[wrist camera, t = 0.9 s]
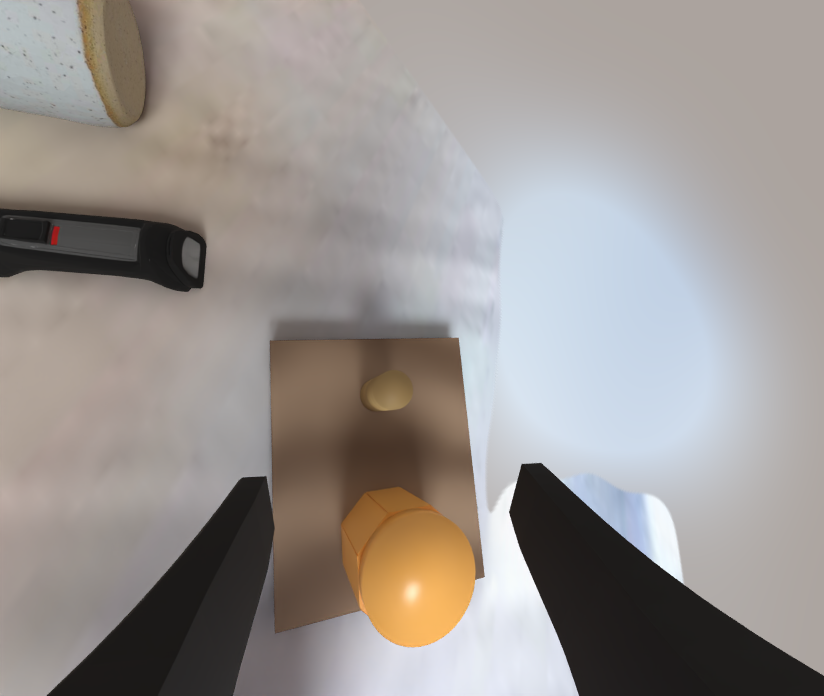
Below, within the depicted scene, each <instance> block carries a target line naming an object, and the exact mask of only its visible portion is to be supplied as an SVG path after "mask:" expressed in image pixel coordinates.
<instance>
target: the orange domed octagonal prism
mask: <svg viewBox="0 0 824 696" xmlns="http://www.w3.org/2000/svg"><path fill="white" fill-rule="evenodd" d="M341 524H342V525H341V539H342V560H343V566H344V568H345V571H346V574H347V576H348V579H349V581H350V584H351V587H352V589H353V592H354V594H355V597H356V600H357V602H358V605H359V607H360V610H362V611H363V612H364V613H365V614H367V615H368V616H369V618H370V620H371V622H372V624H373V626H374V627H375V628H376V629H377V631H378V632H379V633H380V634H381V635H382V636H383V637H385V638H386V639H388V640H389V641H391V642H393V643H395V644H397V645H401V646H405V647H421V646H425V645H428V644H431V643H433V642H436V641H437V640H439V639H441V638H442V637H444V636H445V635H446V634H448V633H449V632H450V631H451V630H452V629H453V628H454V627H455V626H456V625H457V623H458V622H459V621H460V620H461V618H462V616H463V615H464V613H465V611H466V609H467V607H468V605H469V603H470V600H471V597H472V594H473V590H474V584H475V573H476V572H475V560H474V555H473V551H472V548H471V546H470V543H469V541H468V539H467V538H466V536H465V534H464V533H463V532H462V530H461V529H460V528H459V527H458V526H457V525H456V524H455V523H453V522H452V521H451V520H449V519H447V518H446V517H444V516H443V515H442V514H441V513H439V512H438V511H437V510H436V509H435V508H434V507H433V506H431V505H430V504H428V503H426V502H425V501H423V500H421V499H420V498H418V497H416V496H414V495H413V494H411V493H409V492H408V491H406V490H404V489H402V488H401V487H394V488H388V489H382V490H375V491H369V492H366V493H364V494H363V496H362V497H361V498H360V500H359V501H358V502H357V503H356V505H355V506H354V507H353V509H352V510H351V511H350V513H349V514H348V515H347V517H346V518H345V519H344V520H343V522H342V523H341Z"/></svg>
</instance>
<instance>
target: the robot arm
mask: <svg viewBox="0 0 824 696" xmlns="http://www.w3.org/2000/svg"><path fill="white" fill-rule="evenodd" d="M509 513H510V517H511V520H512V524H513V527H514V531H515V534H516V537H517V540H518V543H519V547H520V549H521V552H522V554H523V557H524V559H525V561H526V564H527V566H528V568H529V571H530V573H531V575H532V578H533V580H534V582H535V585H536V587H537V589H538V592H539V594H540V596H541V598H542V601H543V603H544V605H545V608H546V610H547V612H548V615H549V617H550V619H551V621H552V624H553V626H554V628H555V631H556V633H557V635H558V638H559V640H560V643H561V645H562V648H563V651H564V653H565V656H566V659H567V661H568V664H569V667H570V670H571V673H572V676H573V679H574V682H575V685H576V688H577V691H578V694H579V696H824V676H823V675H822V674H820V673H818V672H817V671H815V670H813V669H811V668H810V667H808V666H806V665H805V664H803V663H802V662H800V661H798V660H797V659H795V658H793V657H791V656H790V655H788V654H787V653H785V652H783V651H782V650H780V649H779V648H777V647H775V646H774V645H772V644H770V643H769V642H767V641H766V640H764V639H763V638H761V637H759V636H758V635H756V634H755V633H753V632H752V631H750V630H748V629H747V628H745V627H744V626H743V625H741V624H740V623H738V622H737V621H735V620H733V619H732V618H731V617H729V616H728V615H726V614H724V613H723V612H722V611H720V610H719V609H717V608H716V607H714V606H713V605H711V604H710V603H709V602H707V601H706V600H704V599H703V598H701V597H700V596H698V595H697V594H696V593H694V592H693V591H692V590H690V589H689V588H688V587H686V586H685V585H684V584H682V583H681V582H680V581H678V580H677V579H675V578H674V577H673V576H671V575H670V574H669V573H667V572H666V571H665V570H663V569H662V568H661V567H660V566H658V565H657V564H656V563H654V562H653V561H652V560H651V559H649V558H648V557H647V556H646V555H644V554H643V553H642V552H641V551H640V550H638V549H637V548H636V547H635V546H633V545H632V544H631V543H630V542H629V541H627V540H626V539H625V538H624V537H623V536H621V535H620V534H619V533H618V532H617V531H616V530H614V529H613V528H612V527H611V526H610V525H609V524H607V523H606V522H605V521H604V520H603V519H602V518H601V517H600V516H598V515H597V514H596V513H595V512H594V511H593V510H592V509H591V508H590V507H588V506H587V505H586V504H585V503H584V502H583V501H582V500H581V499H580V498H579V497H578V496H576V495H575V494H574V493H573V492H572V491H571V490H570V489H569V488H568V487H567V486H566V485H565V484H564V483H562V482H561V481H560V480H559V479H558V478H557V477H556V476H555V475H554V474H553V473H552V472H551V471H550V470H548V469H547V468H546V467H545V466H544V465H543V464H542V463H534V464H522V465H521V469H520V473H519V477H518V480H517V484H516V488H515V492H514V496H513V499H512V503H511V507H510V511H509ZM274 530H275V526H274V520H273V514H272V508H271V502H270V496H269V490H268V484H267V477H266V476H264V477H243V478H241V479H240V480H239V481H238V482H237V484H236V485H235V486H234V488H233V489H232V491H231V492H230V493H229V495H228V496H227V497H226V499H225V500H224V501H223V503H222V504H221V505H220V507H219V508H218V509H217V511H216V512H215V513H214V514H213V516H212V517H211V518H210V520H209V521H208V522H207V523H206V525H205V526H204V527H203V529H202V530H201V531H200V532H199V533H198V535H197V536H196V537H195V538H194V540H193V541H192V542H191V543H190V544H189V546H188V547H187V548H186V549H185V551H184V552H183V553H182V554H181V556H180V557H179V558H178V559H177V560H176V561H175V563H174V564H173V565H172V566H171V567H170V568H169V569H168V571H167V572H166V573H165V574H164V575H163V576H162V577H161V579H160V580H159V581H158V582H157V583H156V584H155V585H154V587H153V588H152V589H151V590H150V591H149V592H148V593H147V594H146V596H145V597H144V598H143V599H142V600H141V601H140V602H139V603H138V604H137V605H136V607H135V608H134V609H133V610H132V611H131V612H130V613H129V614H128V615H127V616H126V617H125V618H124V619H123V620H122V621H121V623H120V624H119V625H118V626H117V627H116V628H115V629H114V630H113V631H112V632H111V633H110V634H109V635H108V636H107V637H106V638H105V639H104V640H103V641H102V642H101V643H100V644H99V645H98V646H97V647H96V648H95V649H94V650H93V651H92V652H91V653H90V654H89V655H88V656H87V657H86V658H85V659H84V660H83V661H82V662H81V663H80V664H79V665H78V666H77V667H76V668H75V669H74V670H73V671H72V672H71V673H70V674H69V675H68V676H66V677H65V678H64V679H63V680H62V681H61V682H60V683H59V684H58V685H57V686H56V687H55V688H54V689H53V690H52V691H51V692H50V693H49V694H48V695H47V696H233V693H234V689H235V685H236V681H237V677H238V673H239V669H240V665H241V662H242V658H243V655H244V651H245V648H246V644H247V641H248V637H249V634H250V630H251V627H252V623H253V620H254V616H255V613H256V609H257V606H258V602H259V598H260V595H261V591H262V588H263V584H264V581H265V577H266V573H267V570H268V564H269V559H270V553H271V548H272V542H273V536H274Z"/></svg>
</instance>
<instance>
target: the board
mask: <svg viewBox="0 0 824 696" xmlns="http://www.w3.org/2000/svg"><path fill="white" fill-rule="evenodd" d="M270 371H271V431H272V492H273V520H274V526H275V530H274V536H273V553H274V614H275V633H279V632H282V631H286V630H290V629H294V628H297V627H301V626H305V625H308V624H312V623H316V622H320V621H323V620H327V619H331V618H334V617H338V616H342V615H346V614H349V613H353V612H357V611H360V607H359V605H358V602H357V600H356V597H355V594H354V592H353V589H352V587H351V584H350V581H349V579H348V576H347V574H346V571H345V568H344V566H343V560H342V539H341V525H342V524H341V523H342V522H343V520H344V519H345V518H346V517H347V515H348V514H349V513H350V511H351V510H352V509H353V507H354V506H355V505H356V503H357V502H358V501H359V500H360V498H361V497H362V496H363V494H364V493H366V492H369V491H375V490H382V489H388V488H394V487H401V488H402V489H404V490H406V491H408V492H409V493H411V494H413V495H414V496H416V497H418V498H420V499H421V500H423V501H425V502H426V503H428V504H430V505H431V506H433V507H434V508H435V509H436V510H437V511H438V512H439V513H441V514H442V515H443V516H444V517H446V518H447V519H449V520H451V521H452V522H453V523H455V524H456V525H457V526H458V527H459V528H460V529H461V530H462V532H463V533H464V534H465V536H466V538H467V539H468V541H469V543H470V546H471V548H472V551H473V555H474V560H475V572H476V573H475V580H476V579H479V578H483V577H485V576H484V567H483V558H482V549H481V539H480V530H479V521H478V512H477V503H476V494H475V484H474V475H473V466H472V457H471V448H470V439H469V429H468V420H467V411H466V402H465V393H464V384H463V375H462V365H461V356H460V347H459V338H412V339H345V340H278V341H270Z"/></svg>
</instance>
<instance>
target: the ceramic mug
mask: <svg viewBox="0 0 824 696" xmlns="http://www.w3.org/2000/svg"><path fill="white" fill-rule="evenodd" d="M144 100H145V68H144V58H143V51H142V45H141V40H140V35H139V30H138V27H137V23H136V20H135V16H134V14H133V11H132V8H131V6H130V3H129V0H0V108H4V109H10V110H15V111H21V112H26V113H32V114H38V115H44V116H49V117H55V118H60V119H65V120H69V121H74V122H78V123H83V124H89V125H95V126H102V127H128V126H130V125H132V124H133V123H134V122H136V121H137V120H138V118H139V117H140V116H141V113H142V110H143V107H144Z"/></svg>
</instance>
